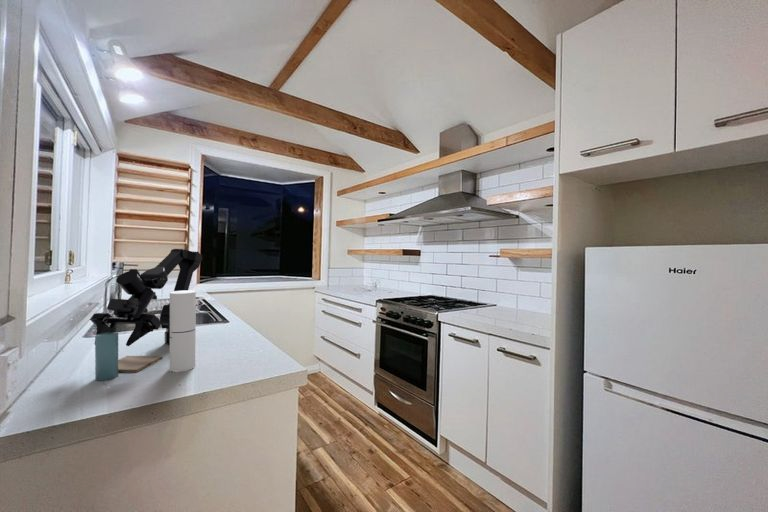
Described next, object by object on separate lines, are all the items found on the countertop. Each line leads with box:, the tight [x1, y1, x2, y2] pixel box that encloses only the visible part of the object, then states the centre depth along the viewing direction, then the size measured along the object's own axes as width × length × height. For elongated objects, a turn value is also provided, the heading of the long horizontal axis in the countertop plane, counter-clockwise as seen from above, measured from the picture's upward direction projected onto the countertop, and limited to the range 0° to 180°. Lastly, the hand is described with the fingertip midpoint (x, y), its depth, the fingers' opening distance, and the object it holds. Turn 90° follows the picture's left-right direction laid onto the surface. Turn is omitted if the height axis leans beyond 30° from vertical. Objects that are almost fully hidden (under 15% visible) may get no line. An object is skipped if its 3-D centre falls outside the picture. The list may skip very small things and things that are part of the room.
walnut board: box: [118, 355, 163, 373], centre depth 105 cm, size 12×12×1 cm
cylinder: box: [94, 331, 119, 382], centre depth 95 cm, size 5×5×13 cm
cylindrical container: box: [169, 289, 197, 373], centre depth 103 cm, size 7×7×25 cm
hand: (111, 345), depth 96 cm, fingers open, 9 cm apart
